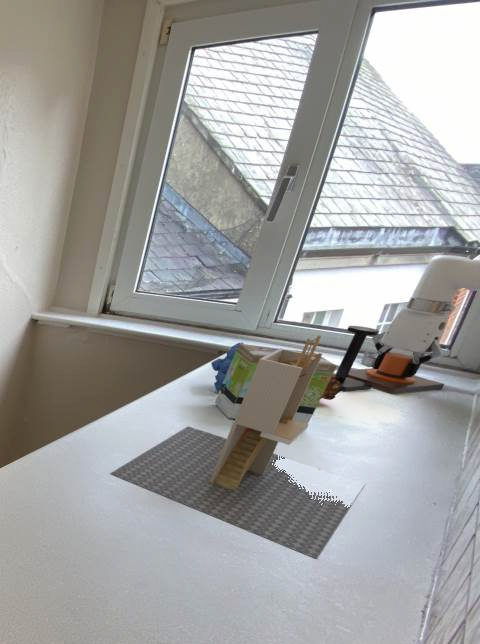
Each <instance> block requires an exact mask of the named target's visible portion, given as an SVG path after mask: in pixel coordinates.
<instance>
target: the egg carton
mask: <svg viewBox="0 0 480 644" xmlns="http://www.w3.org/2000/svg"><path fill="white" fill-rule="evenodd" d="M378 355H379V354H377V353H370V352H368V351H364V353H363V356H362V357H361V360H360V364H362V365H365V366H366V365H368V366H367V367H374V362H375V361H376V359H377V357H378ZM410 356H412V355H411V354H410Z"/></svg>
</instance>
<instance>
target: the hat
mask: <svg viewBox="0 0 480 644" xmlns="http://www.w3.org/2000/svg"><path fill="white" fill-rule="evenodd" d="M410 355H411V354H410ZM410 355H409V354H405V353H399V352H392V351H390V352H388V353H386V354H385V356H384V358H383V360H382V362H381V364H380V366H379V368H378V369H372V368H369V369H370V370H367V371H366V374H368V375H370V376H372V377H375V378H378V379H382V380H386V381H391V382H397V383H407V384H410V383H414V382H415V379H414V378H412V377H409V378H404V377H402V375H403V373H404V371H405V370H406V368H407V366H408V364H409V363H412V361H413V355H411V356H410Z"/></svg>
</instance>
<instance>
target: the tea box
mask: <svg viewBox="0 0 480 644" xmlns="http://www.w3.org/2000/svg"><path fill="white" fill-rule="evenodd" d="M280 348H281V347H280ZM280 348H279V347H270V346H262V345H254V344H246V343H244V344H239V345H238V348H237V350H236V352H235V355H234V357H233V359H232V362H231V364H230V367H229V369H228V371H227V374H226V376H225V379H224V381H223V384H222V386H221V389H220V391H218V393H217V395H216V398H215V401H214V403H215V405H216V406H217V407H218V408H219V410H220V412H222V413H223V414H224V415H225V417H227V418H228V419H234V420H235V419H236V416H237V414H238V411H239V409H240V406H241V404H242V401H243V399H244V396H245V394H246V392H247V389H248V387H249V384H250V382H251V379H252V377H253V374H254V372H255V369H256V367H257V364H258V362H259V360H260V359H261V358H263V357H265V356H266V355H268V354H270V353H272V352H274V351H276V350H278V349H280ZM285 349H286V348H285ZM286 350H289V349H286ZM290 350H291V351H296V352H301V353H302V351H303V350H297V349H296V350H295V349H290ZM307 352H308V351H306V352H305V354H307ZM310 352H311V351H309V352H308V354H310ZM316 354H317V353H316V352H314V353H313V355H316ZM337 367H338V366H337V364H335V363H333V362H331V361H330V360H328V359H326V358H325V357H322V356H321V359H320V362H319V364H318V366H317V368H316V370H315V372H314V375H313V377H312V379H311V381H310V383H309V386H308V388H307V390H306V392H305V394H304V396H303V399H302V401H301V403H300V405H299V407H298V409H297V412H296V414H295V416H294V418H293V420H294V421H298V422H301V423H305V424H308V425H309V422H310V421H311V419H312V417H313V415H314V414H315V411H316V410H317V407H318V405H319V403H320V402H321V400H322V399H321V397H322V395H323V393H324V391H325V389H326V387H327V385H328V383H329V381H330V379H331V377H332V375H333V373H335V372H336V369H337Z"/></svg>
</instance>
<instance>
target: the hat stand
mask: <svg viewBox="0 0 480 644" xmlns="http://www.w3.org/2000/svg"><path fill="white" fill-rule="evenodd" d="M346 331H347V332H349V333H354V334H353V337H352V339H351V340H350V343H349V345H348V347H347V349H346V351H345V353H344V355H343V358H342V360H341V361H340V364H339V366H338V368H337V370H336V371H335V372H334V373H333V377H337V378H338V379H339V382H340V383H341V385H342V386H341V388H342V391H341V392H344V393H345V392H354V391H355V392H356V391H365V390H371V389H372V385H371V384H368V383H364V382H361V381H358V380H355V379H351V378H348V377H347V375H348V373H349V371H350V370H352V367H353V365H354V363H355V361H356V359H357V357H358V355H359V353H360V351H361V349H362V347H363V344H364V343H365V341H366V338H367V337H368V336H372V337H374V336H376V335H379V332H380V330H379V329H376V328H372V327H367V326H362V325H361V326H360V325H348V327H347V329H346Z"/></svg>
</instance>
